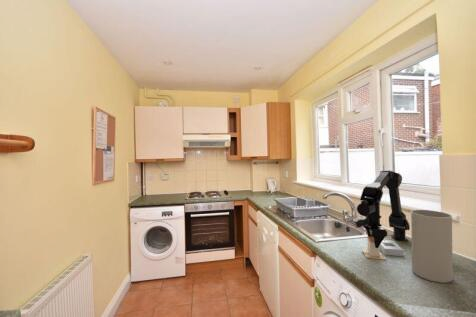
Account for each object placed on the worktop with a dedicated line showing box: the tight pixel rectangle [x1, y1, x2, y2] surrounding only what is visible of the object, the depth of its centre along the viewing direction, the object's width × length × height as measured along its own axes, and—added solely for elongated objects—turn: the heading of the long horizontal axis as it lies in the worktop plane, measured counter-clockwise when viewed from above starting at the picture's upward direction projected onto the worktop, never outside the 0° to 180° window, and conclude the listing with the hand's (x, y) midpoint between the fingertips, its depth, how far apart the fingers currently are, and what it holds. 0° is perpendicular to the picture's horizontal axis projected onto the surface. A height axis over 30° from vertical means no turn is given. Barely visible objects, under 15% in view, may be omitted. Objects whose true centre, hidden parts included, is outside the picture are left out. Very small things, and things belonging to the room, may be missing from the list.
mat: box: [361, 250, 387, 261], centre depth 110 cm, size 8×8×1 cm
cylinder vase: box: [410, 209, 454, 284], centre depth 91 cm, size 12×12×25 cm
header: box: [379, 239, 404, 257], centre depth 116 cm, size 12×8×3 cm, turn 166°
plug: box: [366, 235, 381, 257], centre depth 110 cm, size 4×4×8 cm
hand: (373, 244), depth 110 cm, fingers open, 9 cm apart
